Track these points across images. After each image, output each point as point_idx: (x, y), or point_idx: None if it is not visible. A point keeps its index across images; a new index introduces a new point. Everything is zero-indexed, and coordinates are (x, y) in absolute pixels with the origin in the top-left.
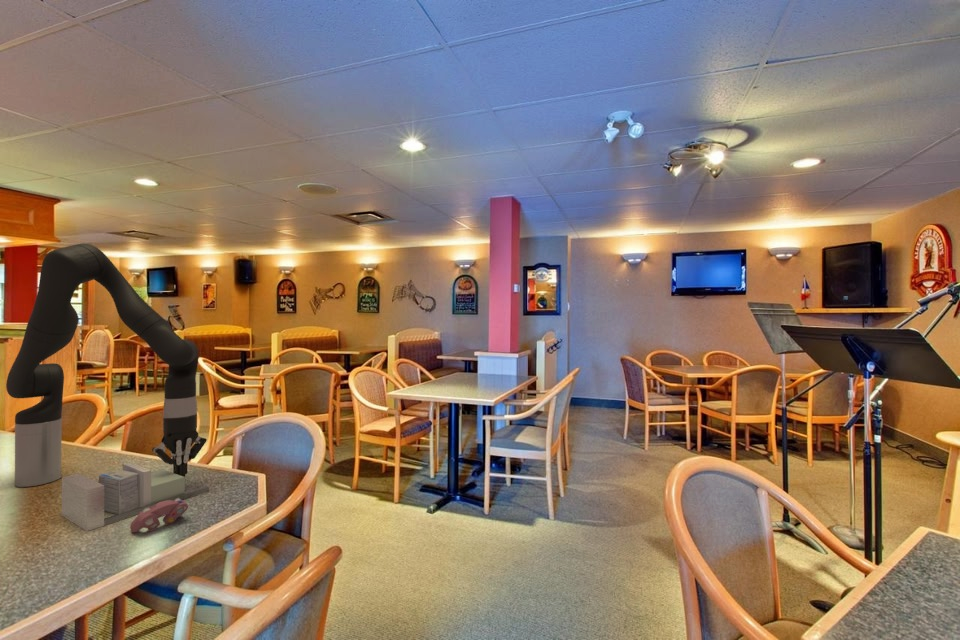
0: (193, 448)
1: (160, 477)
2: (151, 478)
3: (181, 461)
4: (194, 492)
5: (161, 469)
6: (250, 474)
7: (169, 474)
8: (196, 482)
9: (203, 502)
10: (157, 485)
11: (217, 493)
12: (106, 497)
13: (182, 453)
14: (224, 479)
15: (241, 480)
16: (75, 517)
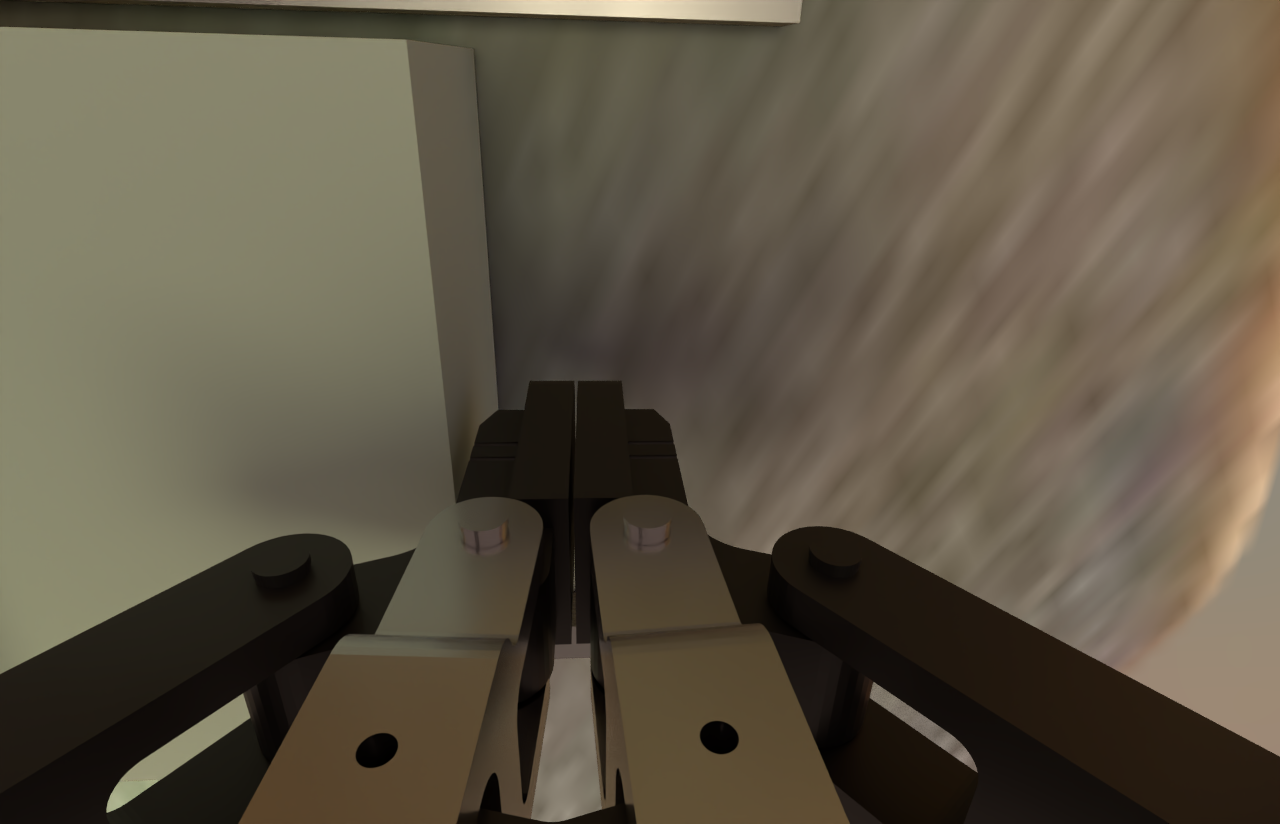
0: (974, 809)
1: (225, 544)
2: (87, 482)
3: (547, 705)
4: (579, 648)
5: (372, 58)
6: (1226, 530)
7: (378, 523)
8: (830, 257)
9: (551, 780)
10: (131, 771)
11: None
12: None
13: (607, 801)
14: (1023, 446)
15: (1048, 604)
16: None
